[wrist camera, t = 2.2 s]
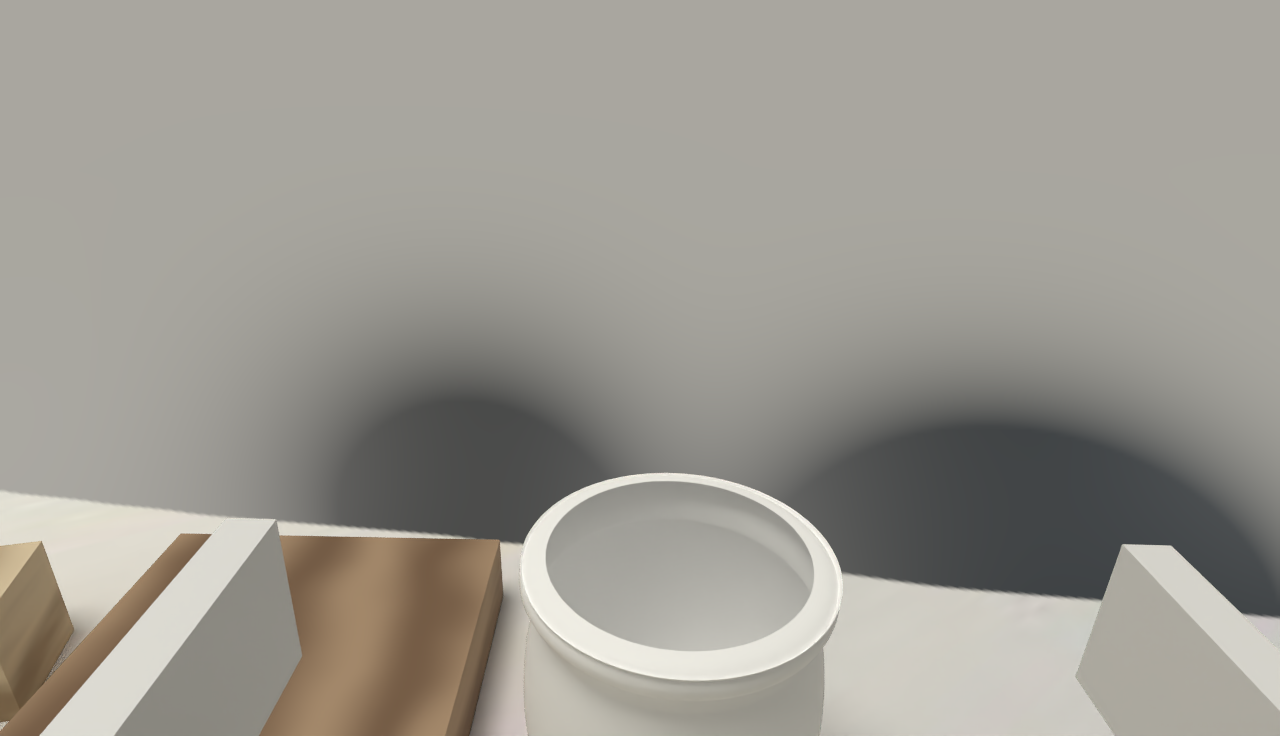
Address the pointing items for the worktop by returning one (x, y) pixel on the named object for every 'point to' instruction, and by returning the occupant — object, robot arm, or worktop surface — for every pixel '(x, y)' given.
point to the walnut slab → (343, 635)
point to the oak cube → (28, 624)
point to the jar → (676, 612)
